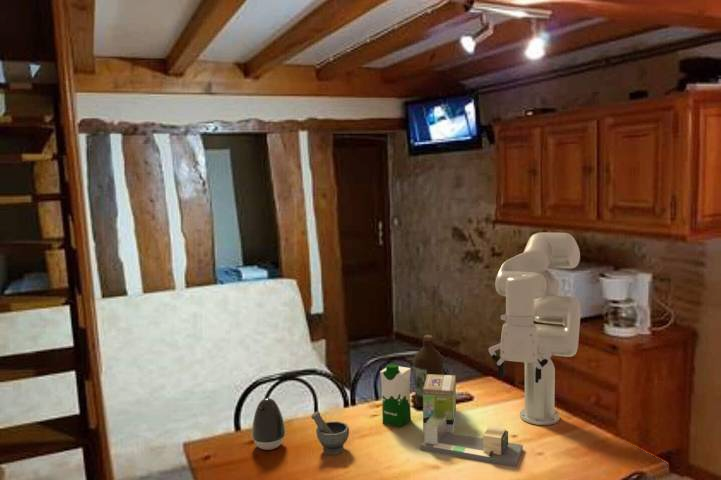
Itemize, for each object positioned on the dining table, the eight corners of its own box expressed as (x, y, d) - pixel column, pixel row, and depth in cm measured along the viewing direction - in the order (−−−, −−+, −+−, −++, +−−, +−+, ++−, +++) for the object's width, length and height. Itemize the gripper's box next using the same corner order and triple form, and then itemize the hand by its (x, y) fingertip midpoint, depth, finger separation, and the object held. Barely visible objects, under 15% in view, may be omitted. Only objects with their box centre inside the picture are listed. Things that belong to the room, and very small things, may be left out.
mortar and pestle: (349, 442, 184) (348, 405, 182) (349, 456, 174) (348, 417, 173) (313, 443, 184) (312, 406, 182) (311, 457, 174) (309, 418, 173)
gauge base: (432, 434, 187) (432, 429, 187) (522, 449, 175) (522, 444, 175) (420, 449, 177) (420, 444, 177) (515, 466, 165) (515, 461, 165)
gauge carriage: (489, 441, 177) (488, 425, 176) (508, 445, 174) (508, 428, 174) (481, 455, 168) (481, 439, 168) (501, 459, 166) (501, 442, 165)
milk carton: (378, 424, 196) (377, 365, 194) (392, 414, 204) (390, 357, 201) (402, 429, 191) (400, 369, 189) (414, 419, 199) (413, 361, 197)
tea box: (454, 435, 186) (453, 390, 184) (422, 433, 188) (421, 388, 186) (456, 416, 200) (455, 374, 199) (426, 414, 202) (425, 373, 201)
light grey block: (434, 431, 185) (433, 413, 185) (446, 433, 184) (446, 415, 183) (424, 443, 177) (424, 424, 177) (437, 446, 176) (437, 426, 175)
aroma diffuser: (246, 451, 179) (243, 403, 178) (263, 436, 189) (260, 391, 187) (275, 456, 176) (273, 406, 174) (291, 441, 186) (289, 394, 184)
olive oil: (430, 396, 219) (428, 330, 216) (450, 404, 210) (449, 336, 207) (408, 403, 213) (406, 335, 210) (427, 412, 204) (426, 342, 201)
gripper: (486, 321, 166) (486, 380, 167) (550, 325, 159) (550, 387, 161) (490, 315, 172) (490, 372, 174) (553, 319, 166) (552, 378, 168)
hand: (519, 379), depth 167 cm, fingers open, 9 cm apart
